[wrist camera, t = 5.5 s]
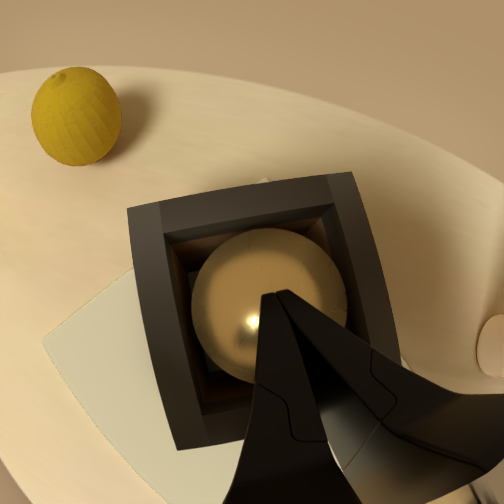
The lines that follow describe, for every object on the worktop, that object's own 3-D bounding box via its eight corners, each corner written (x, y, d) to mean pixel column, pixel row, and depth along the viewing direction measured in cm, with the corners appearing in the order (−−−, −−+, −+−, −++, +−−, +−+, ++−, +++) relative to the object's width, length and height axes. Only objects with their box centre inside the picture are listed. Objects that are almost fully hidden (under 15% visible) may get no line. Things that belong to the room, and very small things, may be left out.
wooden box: (326, 360, 17) (404, 384, 9) (195, 392, 16) (177, 450, 8) (296, 234, 19) (351, 171, 11) (166, 259, 18) (126, 208, 9)
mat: (419, 386, 17) (422, 387, 17) (217, 538, 13) (217, 541, 13) (264, 179, 19) (265, 176, 19) (43, 340, 15) (40, 341, 15)
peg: (301, 344, 17) (360, 359, 9) (214, 365, 16) (211, 400, 8) (281, 259, 17) (325, 217, 10) (194, 277, 17) (178, 244, 9)
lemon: (102, 109, 19) (70, 34, 12) (148, 142, 19) (122, 58, 11) (51, 160, 18) (-1, 97, 10) (92, 200, 18) (35, 136, 10)
